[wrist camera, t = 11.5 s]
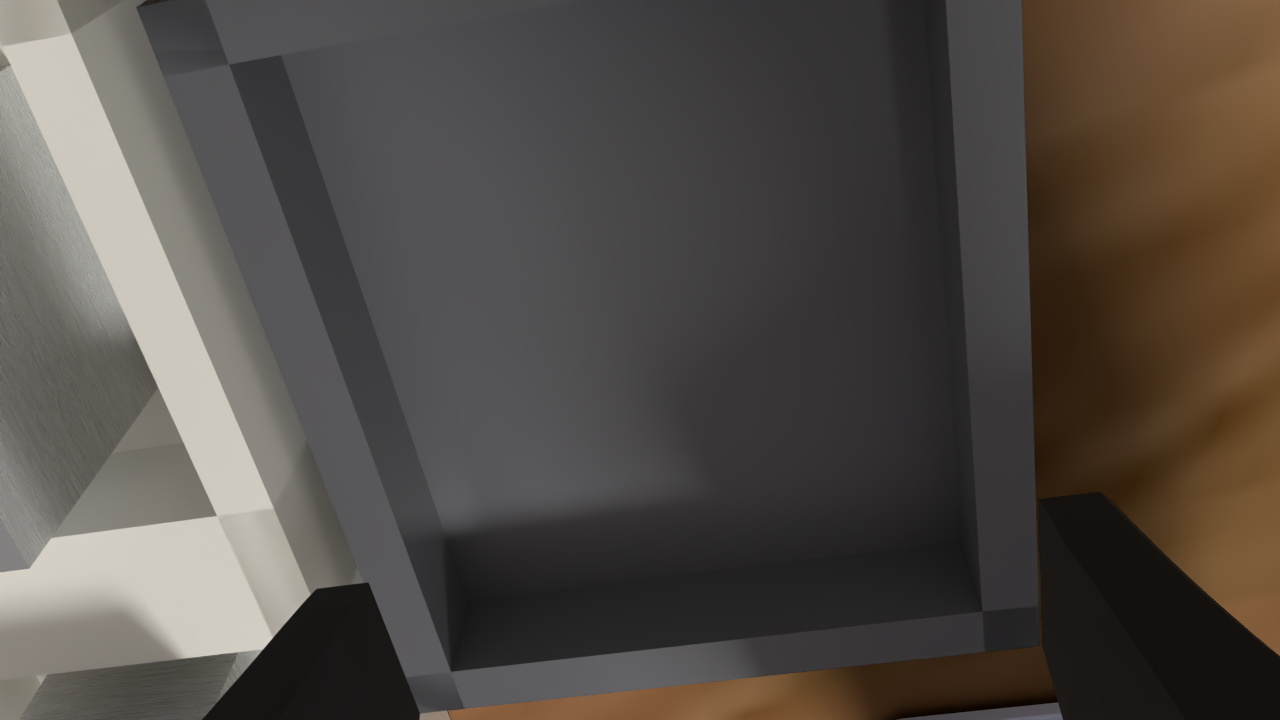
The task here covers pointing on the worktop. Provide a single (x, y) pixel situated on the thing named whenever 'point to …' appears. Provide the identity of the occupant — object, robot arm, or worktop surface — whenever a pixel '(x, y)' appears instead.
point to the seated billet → (140, 690)
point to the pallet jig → (161, 391)
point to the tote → (641, 321)
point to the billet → (53, 344)
